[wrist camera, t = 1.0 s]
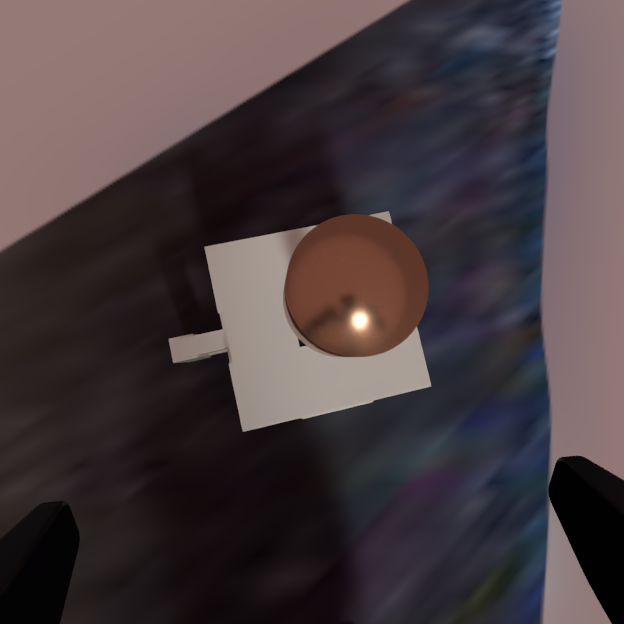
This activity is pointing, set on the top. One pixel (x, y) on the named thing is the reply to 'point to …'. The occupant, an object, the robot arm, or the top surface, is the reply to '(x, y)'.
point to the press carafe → (286, 342)
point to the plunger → (355, 287)
